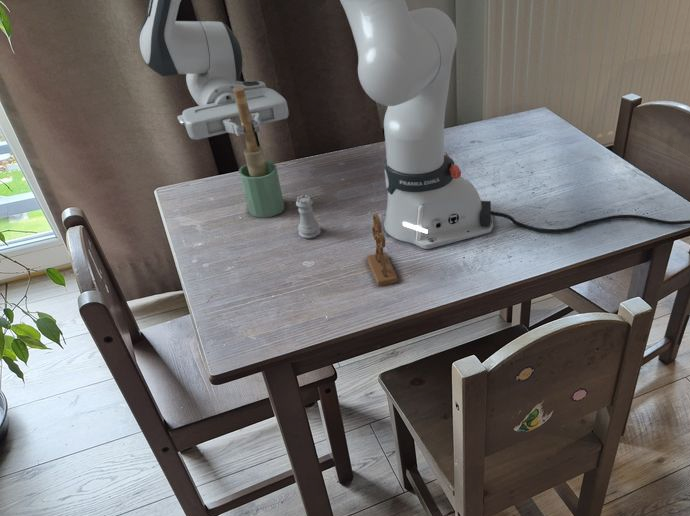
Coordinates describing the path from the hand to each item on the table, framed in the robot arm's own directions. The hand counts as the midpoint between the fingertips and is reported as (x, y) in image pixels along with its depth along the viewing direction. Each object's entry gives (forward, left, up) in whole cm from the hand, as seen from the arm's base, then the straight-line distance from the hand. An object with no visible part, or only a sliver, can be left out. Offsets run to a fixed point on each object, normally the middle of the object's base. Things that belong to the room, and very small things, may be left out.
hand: (249, 129), depth 122 cm
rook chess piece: (-8, +11, -18) cm, 22 cm away
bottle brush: (0, -1, -10) cm, 10 cm away
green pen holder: (0, -1, -18) cm, 18 cm away
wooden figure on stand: (-20, +27, -18) cm, 38 cm away
